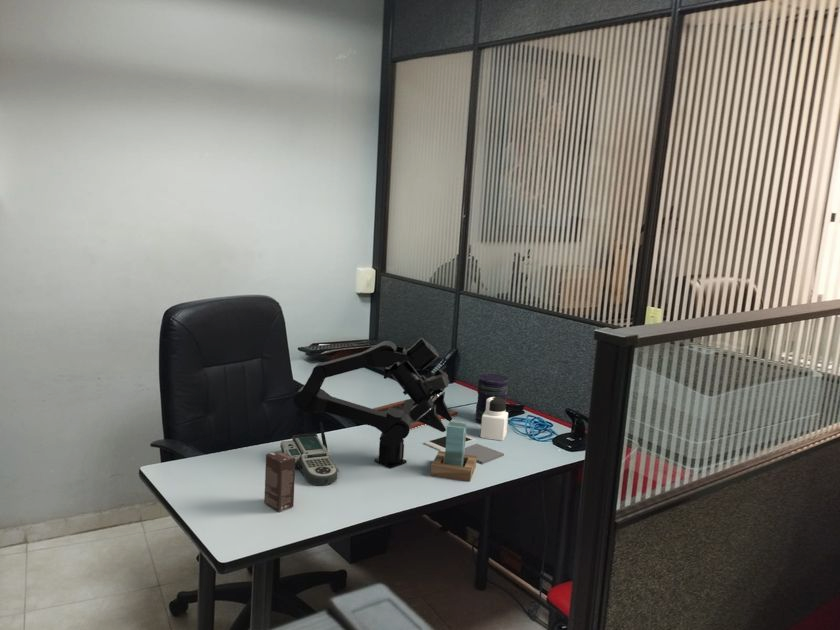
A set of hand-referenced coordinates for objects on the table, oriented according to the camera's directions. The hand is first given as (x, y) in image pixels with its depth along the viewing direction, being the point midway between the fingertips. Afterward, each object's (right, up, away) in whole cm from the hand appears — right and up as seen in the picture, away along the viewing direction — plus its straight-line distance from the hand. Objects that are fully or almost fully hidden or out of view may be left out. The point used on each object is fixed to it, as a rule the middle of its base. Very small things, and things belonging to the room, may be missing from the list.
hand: (448, 425), depth 180 cm
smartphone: (+2, -9, +23) cm, 25 cm away
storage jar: (+16, -6, +44) cm, 47 cm away
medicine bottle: (+15, -8, +31) cm, 35 cm away
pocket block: (+2, -12, +2) cm, 13 cm away
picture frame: (-10, -5, +46) cm, 48 cm away
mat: (+10, -11, +14) cm, 20 cm away
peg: (+2, -12, +2) cm, 13 cm away
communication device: (-36, -11, -2) cm, 38 cm away
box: (-40, -15, -24) cm, 49 cm away
